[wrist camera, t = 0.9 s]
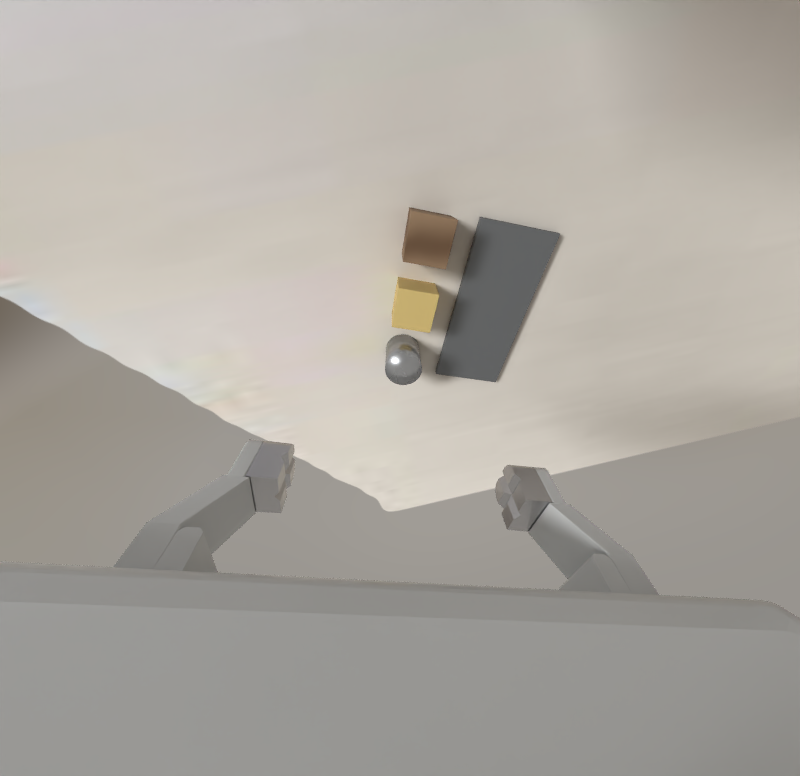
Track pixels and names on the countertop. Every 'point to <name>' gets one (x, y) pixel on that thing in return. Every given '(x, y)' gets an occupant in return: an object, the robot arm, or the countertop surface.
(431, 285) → the mustard block
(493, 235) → the rubber mat
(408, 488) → the countertop surface
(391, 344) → the metal canister
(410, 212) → the walnut block
